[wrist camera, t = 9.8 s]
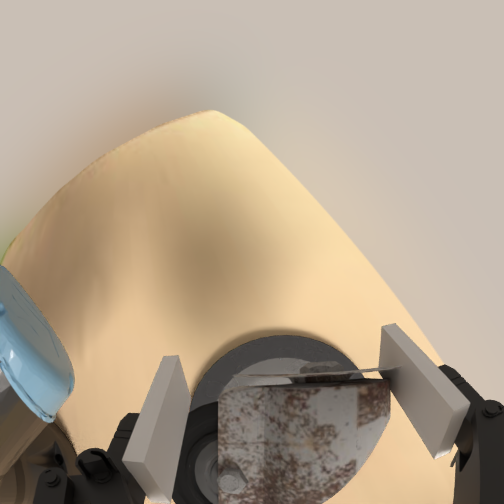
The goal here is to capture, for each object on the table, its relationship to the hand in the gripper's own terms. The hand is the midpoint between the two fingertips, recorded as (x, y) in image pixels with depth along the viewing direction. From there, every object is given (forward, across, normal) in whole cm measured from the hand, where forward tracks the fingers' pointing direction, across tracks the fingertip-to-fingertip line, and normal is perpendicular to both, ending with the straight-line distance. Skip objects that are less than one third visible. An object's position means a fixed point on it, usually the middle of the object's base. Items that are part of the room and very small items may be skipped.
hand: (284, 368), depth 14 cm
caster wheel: (0, -1, -6) cm, 6 cm away
